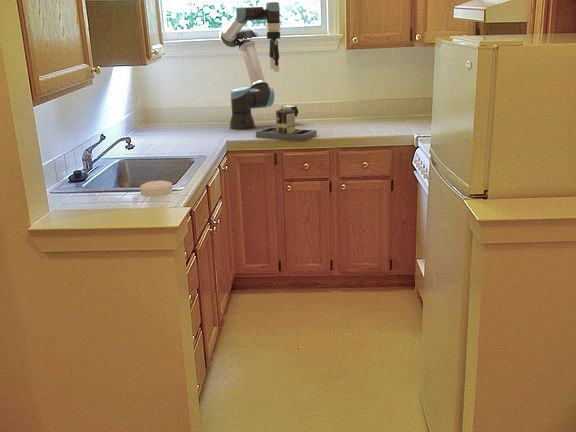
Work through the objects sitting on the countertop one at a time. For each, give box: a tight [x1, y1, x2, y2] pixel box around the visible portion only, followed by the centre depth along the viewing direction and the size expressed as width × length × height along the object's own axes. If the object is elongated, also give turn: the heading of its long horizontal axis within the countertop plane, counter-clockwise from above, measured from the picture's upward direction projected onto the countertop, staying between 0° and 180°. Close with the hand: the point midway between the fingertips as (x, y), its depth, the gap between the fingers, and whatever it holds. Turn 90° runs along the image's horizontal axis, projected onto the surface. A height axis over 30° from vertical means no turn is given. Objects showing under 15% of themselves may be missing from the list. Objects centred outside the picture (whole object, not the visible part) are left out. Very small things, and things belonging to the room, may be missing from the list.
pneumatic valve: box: [280, 103, 299, 118], centre depth 373 cm, size 6×12×12 cm, turn 41°
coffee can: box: [275, 109, 296, 134], centre depth 332 cm, size 10×10×14 cm
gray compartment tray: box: [255, 126, 318, 141], centre depth 334 cm, size 30×15×3 cm, turn 59°
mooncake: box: [139, 179, 173, 197], centre depth 232 cm, size 12×12×4 cm
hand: (274, 70), depth 345 cm, fingers open, 13 cm apart
